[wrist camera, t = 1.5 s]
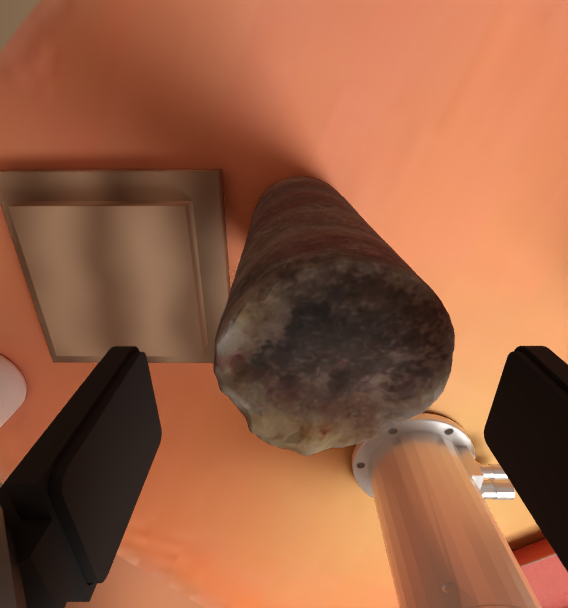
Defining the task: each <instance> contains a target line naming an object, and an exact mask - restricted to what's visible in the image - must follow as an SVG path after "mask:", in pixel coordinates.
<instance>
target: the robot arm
mask: <svg viewBox="0 0 568 608" xmlns="http://www.w3.org/2000/svg"><path fill="white" fill-rule="evenodd" d="M161 435H162V431H161V425H160V420H159V415H158V410H157V405H156V400H155V395H154V391H153V386H152V381H151V376H150V371H149V366H148V361H147V357H146V354H145V352H140V351H139V349H138V347H136V346H113V347H111V348H110V349H109V351H108V352H107V353H106V354H105V356H104V357H103V358H102V360H101V361H100V362H99V363H98V365H97V366H96V367H95V368H94V370H93V371H92V372H91V373H90V375H89V376H88V377H87V379H86V380H85V381H84V382H83V384H82V385H81V386H80V387H79V389H78V390H77V391H76V392H75V394H74V395H73V396H72V398H71V399H70V400H69V401H68V403H67V404H66V405H65V406H64V408H63V409H62V410H61V411H60V413H59V414H58V415H57V417H56V418H55V419H54V420H53V422H52V423H51V424H50V425H49V427H48V428H47V429H46V430H45V432H44V433H43V434H42V436H41V437H40V438H39V439H38V441H37V442H36V443H35V444H34V446H33V447H32V448H31V449H30V451H29V452H28V453H27V455H26V456H25V457H24V458H23V460H22V461H21V462H20V463H19V465H18V466H17V467H16V468H15V470H14V471H13V472H12V473H11V475H10V476H9V477H8V479H7V480H6V481H5V482H4V484H3V485H2V487H1V488H0V608H64V607H65V605H66V603H67V602H89V601H90V599H91V596H92V594H93V592H94V589H95V587H96V584H97V583H102V582H103V581H104V580H105V579H106V577H107V575H108V573H109V570H110V568H111V565H112V563H113V560H114V558H115V555H116V553H117V550H118V548H119V545H120V543H121V540H122V538H123V535H124V533H125V530H126V528H127V525H128V523H129V520H130V518H131V515H132V513H133V510H134V508H135V505H136V503H137V500H138V497H139V495H140V492H141V490H142V487H143V485H144V482H145V480H146V477H147V475H148V472H149V470H150V467H151V465H152V462H153V460H154V457H155V455H156V452H157V450H158V447H159V445H160V441H161ZM484 438H485V441H486V443H487V445H488V447H489V448H490V450H491V452H492V453H493V455H494V456H495V458H496V460H497V461H498V463H499V464H488V465H481V464H480V463H479V462H476V461H475V456H476V455H475V449H474V446H473V444H472V441H471V439H470V438H469V436H468V435H467V433H466V432H465V430H464V429H463V428H462V427H461V426H459V425H458V424H457V423H455V422H454V421H452V420H450V419H448V418H445V417H442V416H439V415H435V414H428V413H422V414H419V415H416V416H414V417H412V418H411V419H409V420H407V421H405V422H403V423H401V424H399V425H395V426H392V427H391V428H389V429H388V430H386V431H384V432H382V433H381V434H380V435H378V436H377V437H376V438H374V439H370V440H366V441H364V442H361V443H359V444H356V447H355V449H354V451H353V455H352V469H353V474H354V478H355V480H356V482H357V484H358V485H359V487H360V488H361V489H362V490H363V491H364V492H365V493H367V494H368V495H369V496H371V497H373V498H374V500H375V504H376V509H377V513H378V517H379V521H380V526H381V530H382V534H383V539H384V543H385V547H386V551H387V556H388V560H389V564H390V569H391V573H392V577H393V581H394V586H395V590H396V594H397V599H398V603H399V607H400V608H542V607H541V605H540V603H539V601H538V599H537V597H536V595H535V593H534V591H533V590H532V588H531V586H530V584H529V582H528V580H527V578H526V576H525V575H524V573H523V571H522V569H521V567H520V565H519V563H518V561H517V560H516V558H515V556H514V554H513V552H512V550H511V548H510V546H509V545H508V543H507V541H506V539H505V537H504V535H503V533H502V531H501V530H500V528H499V526H498V524H497V522H496V520H495V518H494V516H493V514H492V513H491V511H490V509H489V507H488V505H487V503H486V501H485V499H493V500H513V499H514V496H515V492H514V488H515V490H516V491H517V493H518V494H519V496H520V498H521V499H522V501H523V502H524V504H525V506H526V507H527V509H528V510H529V512H530V513H531V515H532V517H533V518H534V520H535V521H536V523H537V525H538V526H539V528H540V529H541V531H542V533H543V534H544V536H545V537H546V539H547V540H548V542H549V544H550V545H551V547H552V548H553V550H554V552H555V553H556V555H557V556H558V558H559V559H560V561H561V563H562V564H563V566H564V567H565V569H566V571H567V572H568V365H567V364H566V363H565V362H564V361H563V360H562V359H560V358H559V357H558V356H557V355H556V354H555V353H553V352H552V351H551V350H550V349H549V348H547V347H545V346H519V347H517V348H516V349H515V350H514V352H511V353H510V354H509V355H508V357H507V360H506V363H505V366H504V369H503V373H502V376H501V379H500V382H499V385H498V388H497V391H496V394H495V397H494V401H493V404H492V407H491V410H490V413H489V416H488V419H487V422H486V425H485V429H484ZM507 477H508V479H509V480H510V481H509V480H508V479H506V478H507ZM484 479H488V480H484Z"/></svg>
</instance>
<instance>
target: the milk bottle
mask: <svg viewBox="0 0 568 608" xmlns="http://www.w3.org/2000/svg"><path fill="white" fill-rule="evenodd" d="M26 393H27V384H26V381H25V378H24V377H23V375H22V373H21V372H20V370H19V369H18V368H17V367H16V366H15V365H14V364H13V363H12V362H11V361H9V360H8V359H6V358H5V357H4V356H2V355H0V427H1V426H2V425H3V424H4V423H5V422H6V421H7V420H8V419H9V418H10V417H11V416H12V415H13V414H14V413H15V412H16V410H17V409H18V408H19V407H20V406H21V405H22V404H23V402H24V400H25V397H26Z"/></svg>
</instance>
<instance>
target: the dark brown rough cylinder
mask: <svg viewBox="0 0 568 608" xmlns="http://www.w3.org/2000/svg"><path fill="white" fill-rule="evenodd" d="M454 338H455V335H454V328H453V326H452V323H451V319H450V316H449V314H448V312H447V311H446V309H445V307H444V305H443V304H442V302H441V300H440V299H439V297H438V296H437V295H436V294H435V292H434V291H433V290H432V289H431V288H430V287H429V286H428V285H427V284H426V283H425V282H424V281H423V280H422V279H421V278H420V277H419V276H418V275H417V274H416V273H415V272H414V271H413V270H412V269H411V268H410V267H409V265H408V264H407V263H406V262H405V261H404V260H403V259H402V258H401V257H400V256H399V255H398V254H397V253H396V252H395V251H394V250H393V249H392V248H391V247H390V246H389V245H388V244H387V243H386V242H385V241H384V240H383V239H382V238H381V237H380V236H379V235H378V234H377V233H376V232H375V231H374V230H373V229H372V228H371V227H370V226H369V225H368V224H367V222H366V221H365V220H364V219H363V218H362V217H361V216H360V215H359V214H358V213H357V211H356V210H355V209H354V208H353V207H352V206H351V205H350V204H349V203H348V201H347V200H346V199H345V198H344V197H343V196H341V195H340V193H339V192H337V191H336V190H335V189H334V188H333V187H331V186H330V185H329V184H327V183H325V182H323V181H321V180H318V179H315V178H311V177H303V176H300V177H292V178H288V179H285V180H282V181H280V182H278V183H276V184H274V185H272V186H271V187H270V188H268V189H267V190H266V192H265V193H264V194H263V195H262V197H261V198H260V200H259V202H258V204H257V206H256V209H255V212H254V214H253V217H252V221H251V224H250V228H249V232H248V236H247V239H246V243H245V247H244V249H243V252H242V255H241V259H240V262H239V265H238V268H237V271H236V275H235V279H234V281H233V284H232V287H231V291H230V294H229V297H228V301H227V304H226V307H225V309H224V312H223V314H222V317H221V319H220V323H219V326H218V330H217V333H216V337H215V343H214V373H215V375H216V378H217V380H218V384H219V388H220V390H221V392H223V393H224V394H225V395H227V396H228V397H229V398H230V399H231V401H232V402H233V403H234V404H235V405H236V406H237V408H238V409H239V410H240V411H241V413H242V414H243V415H244V416H245V418H246V420H247V423H248V427H249V430H250V431H251V432H252V433H254V434H256V435H257V436H258V437H259V438H260V439H261V440H263V441H265V442H267V443H268V444H270V445H273V446H277V447H279V448H282V449H288V450H292V451H294V452H297V453H299V454H302V455H305V456H307V455H312V454H316V453H318V452H321V451H324V450H327V449H330V448H332V447H335V448H342V447H346V446H350V445H354V444H359V443H361V442H364V441H366V440H370V439H374V438H376V437H377V436H378V435H380V434H381V433H382V432H384V431H386V430H388V429H389V428H391V427H392V426H395V425H399V424H401V423H403V422H405V421H407V420H409V419H411V418H412V417H414V416H416V415H419V414H422V413H423V412H424V411H426V410H427V409H428V408H429V407H430V406H431V405H432V403H434V402H435V401H436V400H437V399H438V397H439V396H440V395H441V394H442V392H443V390H444V388H445V385H446V383H447V380H448V378H449V375H450V372H451V366H452V355H453V351H454Z"/></svg>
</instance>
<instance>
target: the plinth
mask: <svg viewBox="0 0 568 608" xmlns="http://www.w3.org/2000/svg"><path fill="white" fill-rule="evenodd" d="M0 203H1V206H2V209H3V212H4V215H5V218H6V221H7V224H8V227H9V230H10V233H11V236H12V239H13V242H14V245H15V248H16V251H17V254H18V257H19V260H20V263H21V267H22V270H23V273H24V276H25V279H26V282H27V285H28V288H29V291H30V294H31V297H32V300H33V303H34V306H35V309H36V312H37V315H38V318H39V321H40V324H41V327H42V330H43V333H44V336H45V339H46V342H47V345H48V348H49V351H50V354H51V357H52V360H53V362H100V361H101V360H102V358H103V357H104V356H105V354H106V353H107V352H108V351H109V349H110V348H111V347H113V346H136V347H138V349H139V351H140V352H145V354H146V357H147V361H148V363H214V343H215V337H216V333H217V330H218V326H219V323H220V319H221V317H222V314H223V312H224V309H225V307H226V304H227V301H228V297H229V294H230V279H229V266H228V252H227V238H226V224H225V211H224V197H223V183H222V170H221V169H157V170H1V171H0Z"/></svg>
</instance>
